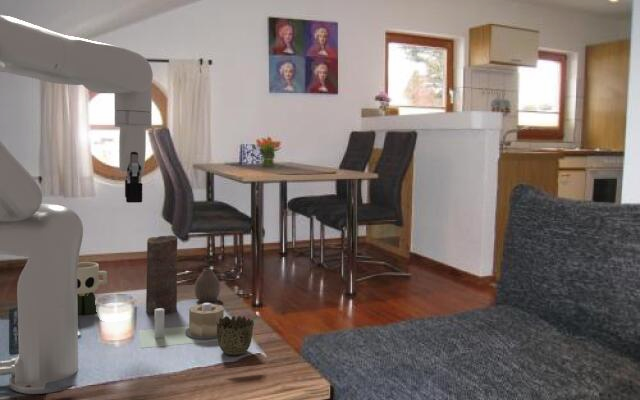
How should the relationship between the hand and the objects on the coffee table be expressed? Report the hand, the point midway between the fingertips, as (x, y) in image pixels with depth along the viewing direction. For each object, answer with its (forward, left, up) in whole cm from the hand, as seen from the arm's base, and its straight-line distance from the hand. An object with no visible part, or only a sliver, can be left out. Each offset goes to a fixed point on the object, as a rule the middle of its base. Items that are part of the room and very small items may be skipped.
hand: (133, 199), depth 120 cm
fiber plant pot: (+18, -20, -31) cm, 41 cm away
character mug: (-11, +16, -31) cm, 36 cm away
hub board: (+10, -7, -30) cm, 33 cm away
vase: (+20, +23, -31) cm, 43 cm away
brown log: (+7, +12, -31) cm, 34 cm away
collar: (+15, -7, -28) cm, 33 cm away
